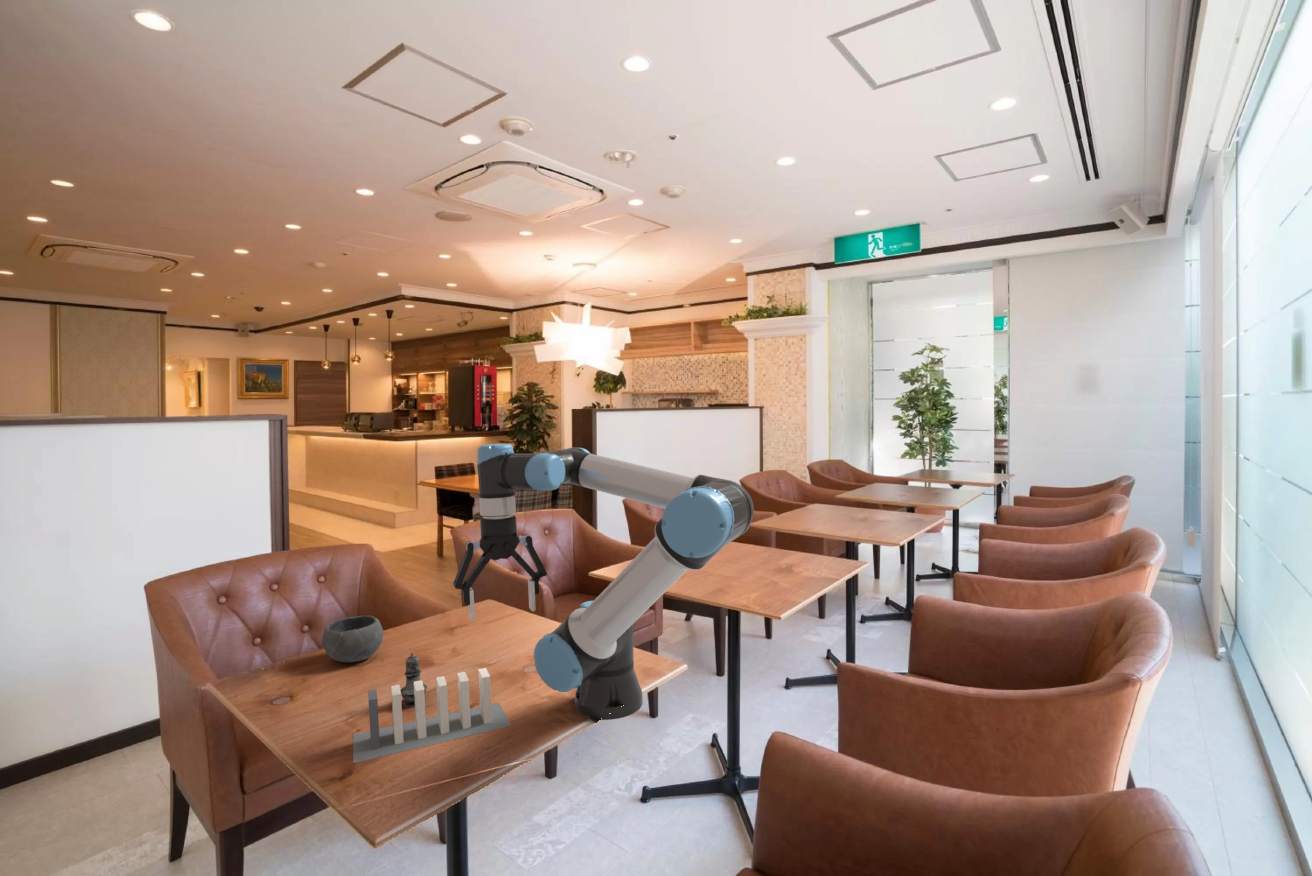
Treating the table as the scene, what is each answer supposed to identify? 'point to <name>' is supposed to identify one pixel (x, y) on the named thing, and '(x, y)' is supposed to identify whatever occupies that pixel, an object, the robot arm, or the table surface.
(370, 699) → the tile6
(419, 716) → the tile
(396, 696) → the tile
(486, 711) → the tile
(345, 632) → the bowl
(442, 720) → the tile
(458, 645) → the table surface
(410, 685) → the grey chess piece
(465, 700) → the tile
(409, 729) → the mat
